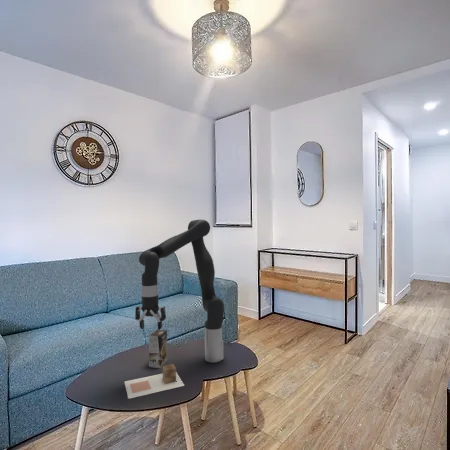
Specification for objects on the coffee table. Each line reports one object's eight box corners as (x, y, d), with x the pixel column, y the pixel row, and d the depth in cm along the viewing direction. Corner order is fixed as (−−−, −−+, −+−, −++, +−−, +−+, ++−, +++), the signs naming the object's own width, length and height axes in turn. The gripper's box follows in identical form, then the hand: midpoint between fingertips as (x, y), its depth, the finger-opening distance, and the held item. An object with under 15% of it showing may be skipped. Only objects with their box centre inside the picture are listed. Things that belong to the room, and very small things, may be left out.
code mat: (175, 371, 147) (175, 370, 147) (184, 386, 134) (184, 385, 134) (124, 382, 137) (124, 381, 137) (128, 399, 124) (128, 398, 124)
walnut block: (173, 376, 142) (173, 363, 142) (176, 381, 137) (176, 368, 137) (162, 378, 140) (162, 365, 140) (165, 383, 135) (165, 370, 135)
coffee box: (160, 368, 150) (160, 336, 150) (148, 367, 151) (148, 335, 151) (167, 360, 159) (167, 330, 159) (156, 359, 160) (156, 329, 160)
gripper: (167, 292, 142) (168, 326, 142) (139, 292, 145) (140, 325, 145) (161, 296, 135) (161, 332, 135) (131, 295, 137) (132, 331, 138)
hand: (150, 329), depth 140 cm, fingers open, 8 cm apart
